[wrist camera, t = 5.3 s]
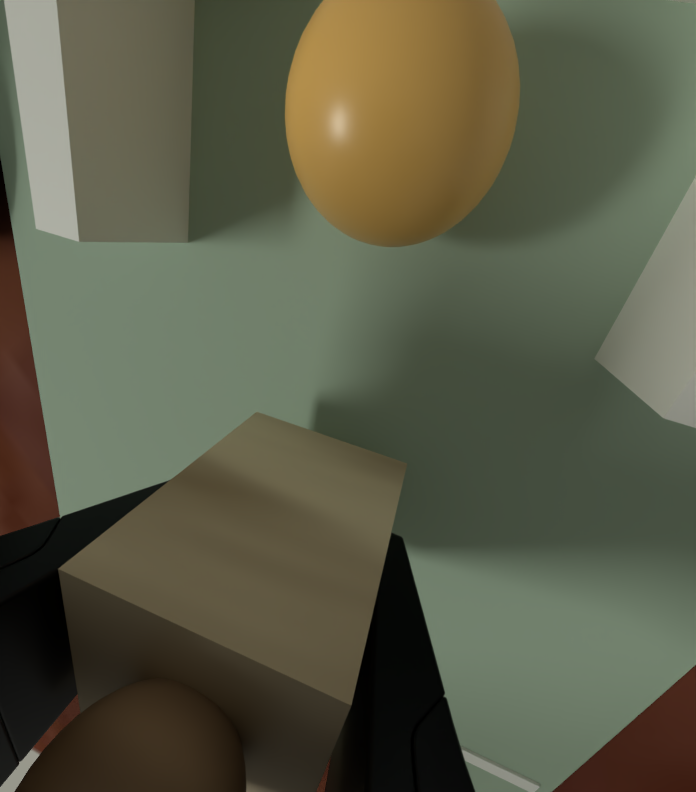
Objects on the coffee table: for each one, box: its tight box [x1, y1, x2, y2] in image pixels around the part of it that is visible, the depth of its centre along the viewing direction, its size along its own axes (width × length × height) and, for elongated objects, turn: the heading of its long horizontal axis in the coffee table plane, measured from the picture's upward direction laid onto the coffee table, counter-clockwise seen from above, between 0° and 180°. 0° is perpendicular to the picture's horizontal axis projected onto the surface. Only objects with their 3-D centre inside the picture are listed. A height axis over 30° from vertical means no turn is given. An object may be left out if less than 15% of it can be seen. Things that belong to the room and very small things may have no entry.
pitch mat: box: [0, 0, 696, 792], centre depth 11 cm, size 26×22×1 cm
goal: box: [4, 0, 696, 428], centre depth 6 cm, size 6×12×3 cm, turn 76°
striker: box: [15, 412, 407, 792], centre depth 6 cm, size 4×4×8 cm
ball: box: [285, 0, 520, 247], centre depth 6 cm, size 4×4×4 cm
